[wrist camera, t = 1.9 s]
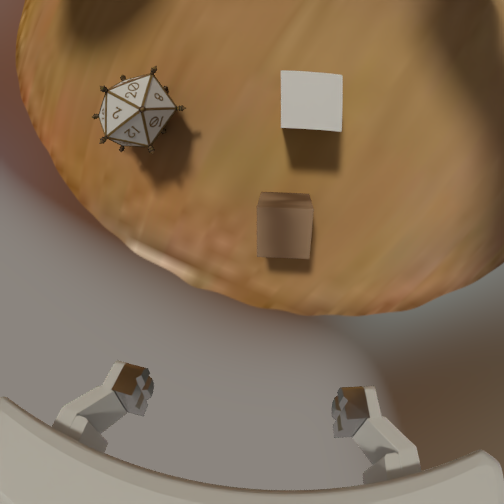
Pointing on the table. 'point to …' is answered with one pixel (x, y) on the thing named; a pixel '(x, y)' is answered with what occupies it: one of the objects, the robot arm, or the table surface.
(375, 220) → the table surface
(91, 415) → the robot arm
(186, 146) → the table surface
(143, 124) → the game die
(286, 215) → the walnut block
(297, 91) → the grey block
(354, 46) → the table surface
